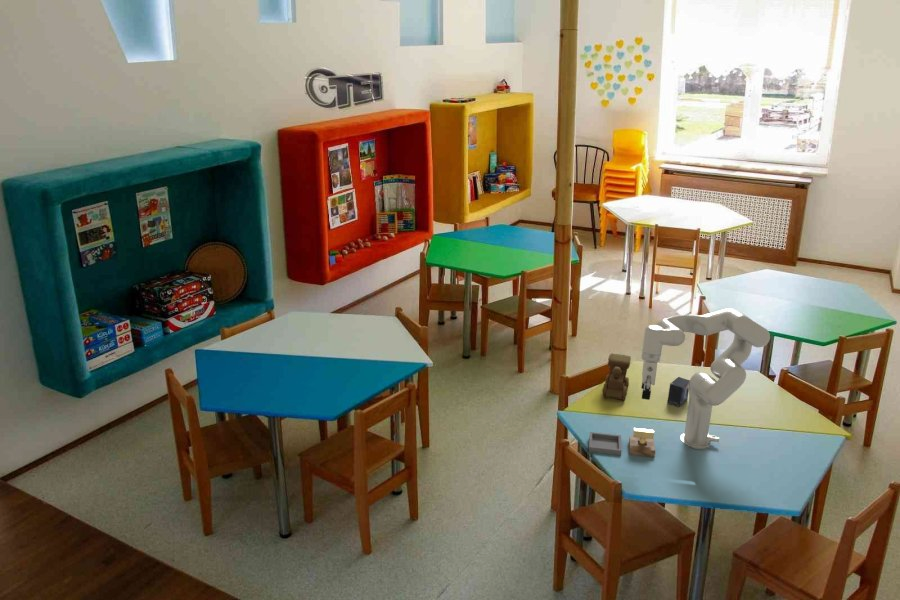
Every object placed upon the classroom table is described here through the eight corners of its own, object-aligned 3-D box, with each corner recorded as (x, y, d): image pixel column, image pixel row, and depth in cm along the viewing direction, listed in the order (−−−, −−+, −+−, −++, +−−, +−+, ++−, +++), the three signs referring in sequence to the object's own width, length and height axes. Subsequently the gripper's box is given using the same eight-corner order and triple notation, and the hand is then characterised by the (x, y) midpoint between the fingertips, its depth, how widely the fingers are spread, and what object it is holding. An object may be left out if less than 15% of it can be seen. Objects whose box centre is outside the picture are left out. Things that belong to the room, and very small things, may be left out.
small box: (679, 407, 363) (682, 387, 359) (666, 403, 366) (669, 383, 363) (688, 400, 371) (691, 380, 367) (675, 396, 375) (677, 376, 371)
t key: (651, 449, 324) (653, 429, 321) (651, 452, 322) (654, 432, 319) (631, 446, 325) (633, 427, 322) (631, 449, 323) (634, 430, 320)
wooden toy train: (605, 383, 386) (608, 352, 380) (629, 386, 383) (632, 355, 377) (600, 400, 368) (603, 368, 362) (625, 404, 365) (628, 372, 359)
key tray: (620, 441, 331) (620, 435, 330) (620, 457, 319) (621, 450, 318) (589, 438, 334) (589, 431, 333) (588, 453, 321) (589, 447, 320)
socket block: (652, 447, 328) (653, 438, 326) (654, 459, 318) (655, 450, 317) (628, 444, 329) (629, 435, 328) (629, 456, 320) (630, 447, 319)
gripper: (661, 365, 304) (655, 404, 309) (660, 348, 320) (654, 386, 325) (641, 362, 305) (636, 401, 311) (641, 346, 321) (636, 384, 327)
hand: (645, 393), depth 318 cm, fingers open, 9 cm apart
